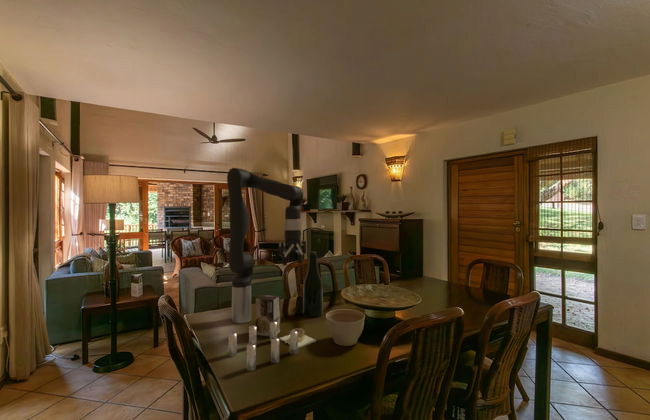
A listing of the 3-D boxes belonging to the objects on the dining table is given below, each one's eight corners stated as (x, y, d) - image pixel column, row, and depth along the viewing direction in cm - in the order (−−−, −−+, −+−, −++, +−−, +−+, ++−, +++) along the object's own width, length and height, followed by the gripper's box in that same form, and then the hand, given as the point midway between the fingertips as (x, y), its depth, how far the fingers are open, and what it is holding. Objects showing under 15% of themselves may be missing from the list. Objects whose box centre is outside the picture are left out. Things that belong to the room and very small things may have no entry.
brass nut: (288, 338, 129) (289, 329, 129) (298, 335, 132) (298, 326, 132) (297, 342, 124) (297, 333, 124) (306, 339, 128) (307, 330, 128)
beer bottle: (298, 314, 161) (298, 251, 161) (312, 310, 168) (312, 250, 169) (313, 319, 154) (313, 253, 154) (326, 314, 162) (327, 251, 162)
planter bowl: (319, 337, 131) (319, 311, 132) (353, 331, 138) (353, 307, 138) (335, 353, 117) (335, 324, 117) (372, 346, 123) (372, 318, 123)
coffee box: (280, 332, 137) (280, 295, 138) (273, 337, 131) (273, 299, 131) (262, 329, 140) (262, 294, 140) (255, 334, 134) (255, 297, 134)
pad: (279, 339, 129) (279, 338, 129) (298, 333, 136) (298, 331, 136) (296, 348, 120) (296, 347, 120) (316, 341, 127) (316, 340, 127)
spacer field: (225, 353, 116) (226, 332, 116) (273, 338, 130) (273, 319, 130) (250, 373, 102) (250, 349, 102) (300, 353, 116) (300, 332, 116)
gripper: (300, 228, 149) (299, 261, 149) (275, 229, 139) (274, 264, 139) (309, 228, 143) (309, 263, 143) (284, 229, 134) (284, 267, 134)
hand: (292, 264), depth 141 cm, fingers open, 8 cm apart
